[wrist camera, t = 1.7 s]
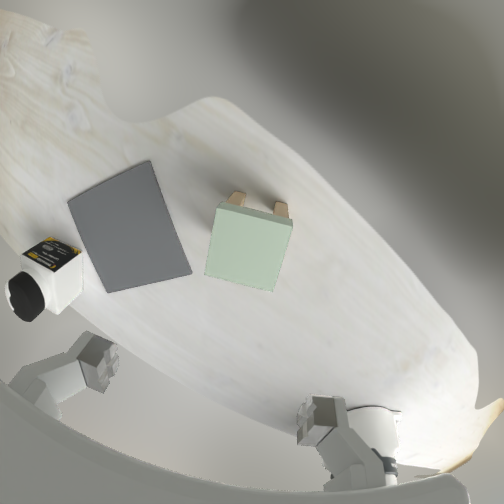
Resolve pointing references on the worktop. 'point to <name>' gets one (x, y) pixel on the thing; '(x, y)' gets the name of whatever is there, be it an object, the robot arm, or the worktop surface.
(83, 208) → the mat
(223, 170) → the worktop surface
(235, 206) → the stool
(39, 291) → the medicine bottle
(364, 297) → the worktop surface
